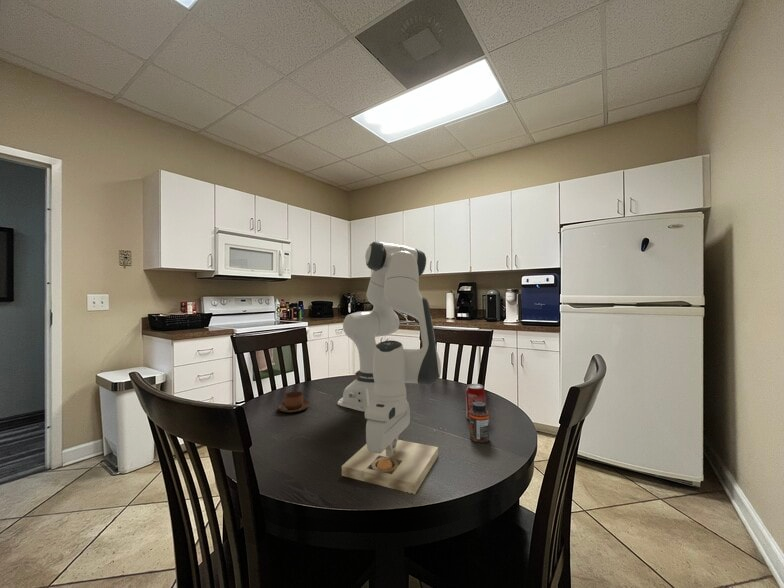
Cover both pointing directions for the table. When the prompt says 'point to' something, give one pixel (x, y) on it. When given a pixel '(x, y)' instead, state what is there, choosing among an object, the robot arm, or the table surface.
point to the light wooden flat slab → (393, 466)
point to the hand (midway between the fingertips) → (391, 454)
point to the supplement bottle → (479, 422)
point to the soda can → (474, 396)
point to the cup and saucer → (293, 402)
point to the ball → (384, 464)
